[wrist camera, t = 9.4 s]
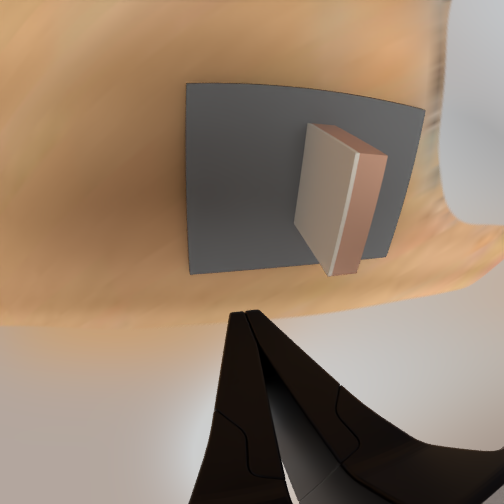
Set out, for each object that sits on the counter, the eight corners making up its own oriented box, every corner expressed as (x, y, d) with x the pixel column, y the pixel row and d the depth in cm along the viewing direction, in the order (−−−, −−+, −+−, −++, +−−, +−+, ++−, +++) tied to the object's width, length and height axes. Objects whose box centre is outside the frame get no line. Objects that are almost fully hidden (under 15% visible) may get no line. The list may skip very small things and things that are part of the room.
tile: (293, 223, 19) (327, 276, 15) (307, 123, 15) (355, 153, 12) (318, 222, 19) (356, 273, 15) (334, 125, 16) (387, 155, 12)
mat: (189, 270, 20) (189, 274, 19) (186, 83, 13) (186, 84, 13) (383, 253, 23) (386, 257, 22) (421, 108, 17) (425, 110, 16)
